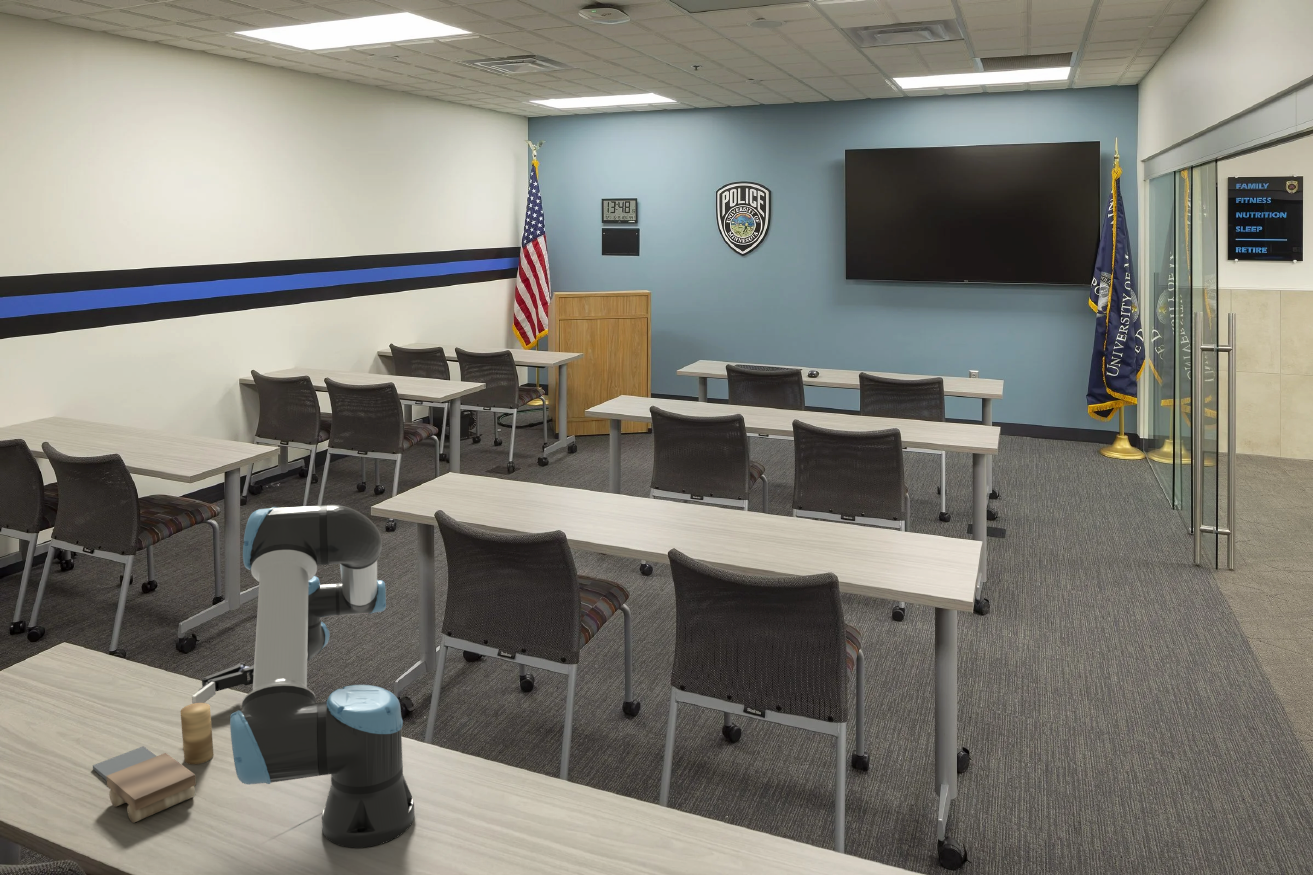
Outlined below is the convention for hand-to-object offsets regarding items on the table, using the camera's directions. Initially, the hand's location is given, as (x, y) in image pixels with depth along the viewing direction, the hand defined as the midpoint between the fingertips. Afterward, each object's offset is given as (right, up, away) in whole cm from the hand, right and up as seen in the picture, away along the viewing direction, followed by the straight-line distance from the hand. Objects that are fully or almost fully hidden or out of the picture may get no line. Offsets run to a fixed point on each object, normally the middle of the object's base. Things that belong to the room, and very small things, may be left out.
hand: (225, 705), depth 184 cm
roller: (-1, -8, -8) cm, 11 cm away
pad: (-12, -8, -12) cm, 19 cm away
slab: (-2, -10, -22) cm, 24 cm away
